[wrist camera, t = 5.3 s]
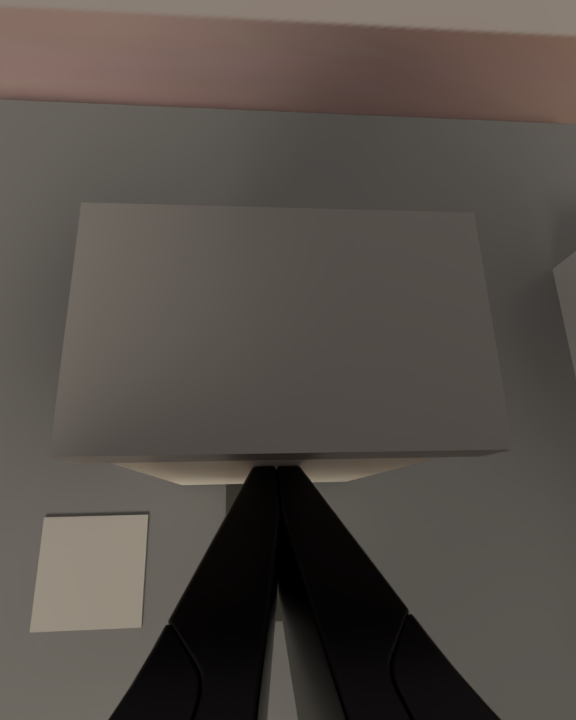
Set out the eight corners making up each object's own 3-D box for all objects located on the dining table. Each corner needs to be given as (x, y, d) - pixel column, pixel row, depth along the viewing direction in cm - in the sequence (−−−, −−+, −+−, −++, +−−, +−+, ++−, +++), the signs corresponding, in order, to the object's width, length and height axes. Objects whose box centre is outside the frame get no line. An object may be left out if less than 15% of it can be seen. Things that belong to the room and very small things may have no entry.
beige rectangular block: (349, 484, 14) (513, 449, 5) (178, 488, 14) (48, 456, 5) (343, 384, 15) (474, 212, 6) (182, 385, 15) (81, 202, 6)
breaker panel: (748, 966, 13) (990, 1189, 9) (-308, 1086, 11) (-667, 1458, 7) (554, 149, 21) (630, 60, 17) (-66, 125, 19) (-157, 17, 15)
